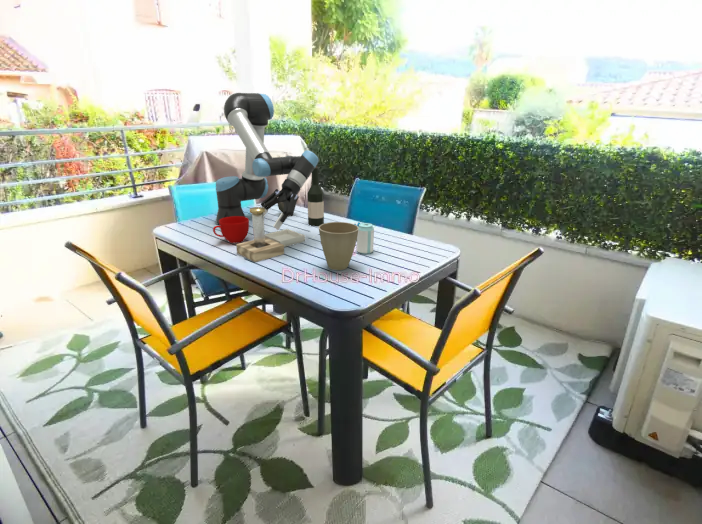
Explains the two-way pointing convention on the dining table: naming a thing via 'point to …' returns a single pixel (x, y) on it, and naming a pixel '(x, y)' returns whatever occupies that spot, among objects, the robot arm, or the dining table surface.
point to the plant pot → (338, 243)
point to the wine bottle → (315, 201)
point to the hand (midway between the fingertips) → (265, 224)
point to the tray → (286, 237)
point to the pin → (258, 226)
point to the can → (365, 238)
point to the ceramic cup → (233, 228)
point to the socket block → (260, 250)
